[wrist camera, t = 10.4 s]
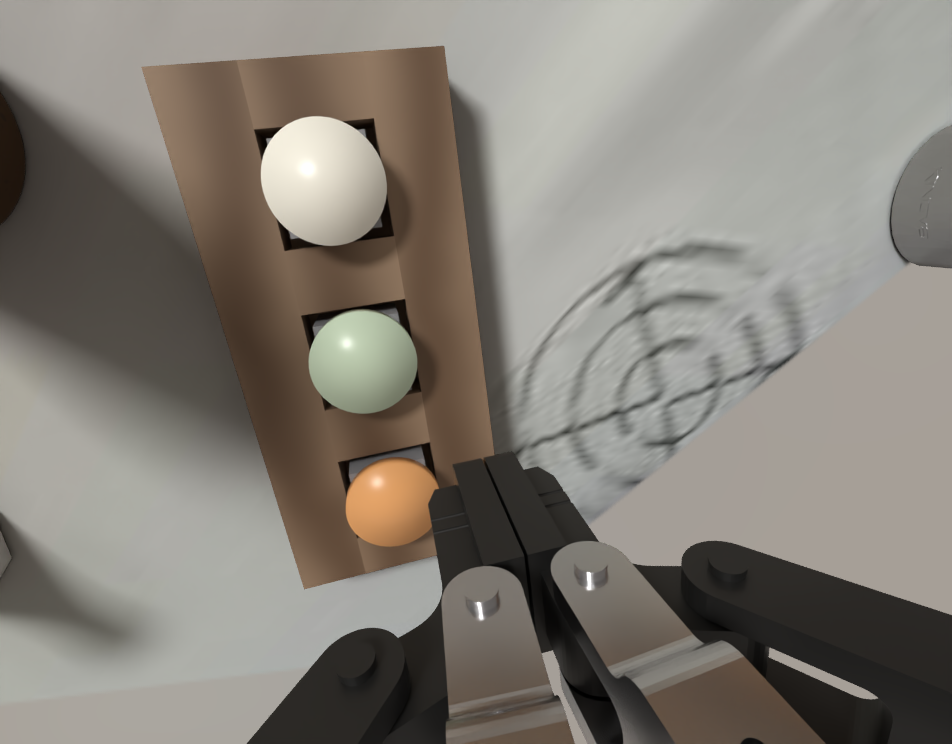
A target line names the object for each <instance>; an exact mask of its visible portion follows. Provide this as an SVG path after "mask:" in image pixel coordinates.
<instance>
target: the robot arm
mask: <svg viewBox="0 0 952 744" xmlns="http://www.w3.org/2000/svg"><path fill="white" fill-rule="evenodd" d="M891 225H892V235H893V238H894V241H895V244H896V247H897V248H898V250H899V251H900V253H901V255H902V256H903V257H905V258H906V259H907V260H908V261H909V262H911V263H914V264H916V265H919V266H931V267H943V268H952V125H951V126H949V127H946V128H944V129H943V130H941V131H940V132H938V133H937V134H935V135H933V136H932V137H931V138H930V139H929V140H928V141H927V142H926V143H925V144H924V145H923V146H922V147H921V148H920V149H919V150H918V152H917V153H916V154H915V155H914V157H913V158H912V159H911V161H910V163H909V164H908V166H907V168H906V170H905V171H904V173H903V175H902V177H901V180H900V182H899V185H898V187H897V190H896V193H895V197H894V201H893V205H892V217H891ZM452 472H453V478H454V484H455V485H453V486H449V487H444V488H440V489H435V490H434V492H433V494H432V496H431V499H430V501H429V503H428V508H429V513H430V519H431V524H432V530H433V535H434V541H435V547H436V552H437V558H438V563H439V569H440V575H441V580H442V588H443V590H442V596H441V599H440V602H439V604H438V606H437V608H436V609H435V611H434V612H433V613H432V615H431V616H430V617H429V618H428V619H427V620H426V621H424V622H423V623H422V624H421V625H419V626H418V627H416V628H415V629H413V630H411V631H410V632H408V633H406V634H404V635H403V636H401V637H399V638H397V637H396V636H395V635H394V634H393V633H391V632H389V631H387V630H384V629H380V628H365V629H360V630H357V631H354V632H351V633H349V634H347V635H345V636H343V637H341V638H340V639H338V640H337V641H335V642H334V643H333V644H332V645H331V646H329V647H328V648H327V649H326V650H325V652H324V653H323V654H322V655H321V656H320V657H319V658H318V660H317V661H316V662H315V663H314V664H313V666H312V667H311V668H310V669H309V670H308V672H307V673H306V674H305V675H304V676H303V678H302V679H301V680H300V681H299V682H298V683H297V685H296V686H295V687H294V688H293V689H292V691H291V692H290V693H289V694H288V695H287V696H286V698H285V699H284V700H283V701H282V702H281V704H280V705H279V706H278V707H277V708H276V710H275V711H274V712H273V713H272V714H271V715H270V717H269V718H268V719H267V720H266V721H265V723H264V724H263V725H262V726H261V727H260V729H259V730H258V731H257V732H256V733H255V734H254V736H253V737H252V738H251V739H250V740H249V742H248V743H247V744H575V743H574V739H573V736H572V733H571V729H570V726H569V723H568V719H567V716H566V713H565V710H564V707H563V705H562V702H561V700H560V698H559V696H558V695H556V696H554V693H553V691H552V688H551V684H550V681H549V678H548V674H547V671H546V667H545V664H544V660H543V657H542V653H544V652H548V651H551V650H553V652H554V654H555V656H556V659H557V661H558V663H559V668H560V679H561V686H562V690H563V693H564V695H565V697H566V699H567V701H568V704H569V706H570V708H571V710H572V712H573V714H574V716H575V718H576V720H577V722H578V725H579V727H580V729H581V731H582V733H583V735H584V737H585V739H586V741H587V743H588V744H952V615H949V614H946V613H943V612H940V611H937V610H934V609H931V608H928V607H925V606H922V605H918V604H916V603H913V602H910V601H907V600H904V599H901V598H897V597H894V596H891V595H888V594H886V593H882V592H879V591H876V590H873V589H870V588H867V587H864V586H861V585H858V584H855V583H852V582H849V581H846V580H843V579H840V578H837V577H834V576H831V575H828V574H825V573H822V572H819V571H816V570H813V569H810V568H807V567H803V566H800V565H797V564H794V563H791V562H788V561H785V560H782V559H779V558H776V557H773V556H770V555H767V554H764V553H761V552H757V551H755V550H752V549H749V548H746V547H742V546H739V545H736V544H733V543H728V542H722V541H706V542H701V543H698V544H695V545H693V546H691V547H690V548H688V549H687V550H686V551H685V553H684V554H683V557H682V566H642V565H637V564H632V563H631V562H630V561H629V559H628V558H627V557H626V556H625V555H624V554H623V553H622V552H620V551H619V550H618V549H616V548H614V547H612V546H610V545H607V544H605V543H601V542H599V541H598V540H597V538H596V537H595V535H594V534H593V532H592V531H591V529H590V528H589V526H588V525H587V524H586V522H585V521H584V519H583V518H582V516H581V515H580V513H579V512H578V510H577V509H576V508H575V506H574V505H573V503H571V502H570V499H569V497H568V496H567V494H566V493H565V492H563V489H562V487H561V486H560V484H559V483H558V481H557V480H556V478H555V477H554V476H553V475H551V474H550V473H548V472H546V471H545V470H543V469H541V468H539V467H534V468H530V469H525V470H523V468H522V466H521V465H520V463H519V461H518V459H517V458H516V456H515V454H514V453H513V452H512V451H511V452H507V453H502V454H497V455H493V456H488V457H483V460H482V459H481V458H479V459H475V460H470V461H465V462H461V463H456V464H452ZM769 647H770V648H773V649H775V650H777V651H779V652H782V653H784V654H786V655H789V656H791V657H793V658H795V659H798V660H800V661H802V662H805V663H807V664H809V665H812V666H814V667H816V668H818V669H821V670H823V671H825V672H827V673H830V674H832V675H834V676H837V677H839V678H841V679H843V680H846V681H848V682H850V683H853V684H855V685H857V686H859V687H862V688H864V689H866V690H868V691H870V692H871V693H873V694H874V695H875V696H877V697H878V699H872V700H870V699H862V698H859V697H856V696H853V695H851V694H849V693H846V692H844V691H842V690H840V689H837V688H835V687H833V686H831V685H828V684H826V683H824V682H822V681H820V680H818V679H815V678H813V677H811V676H809V675H806V674H804V673H802V672H800V671H798V670H795V669H793V668H791V667H789V666H786V665H784V664H782V663H780V662H778V661H775V660H773V659H771V658H769V657H768V656H769Z"/></svg>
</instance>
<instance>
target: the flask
mask: <svg viewBox="0 0 952 744" xmlns="http://www.w3.org/2000/svg"><path fill="white" fill-rule="evenodd" d="M11 558H12V557H11V555H10V553H9V550H8V548H7V545H6V543H5V540H4V538H3V536H2V533H1V531H0V578H1V576H2V574H3V572H4V571H5V569H6V567H7V565H8V564H9V562H10V560H11Z"/></svg>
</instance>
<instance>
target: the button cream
mask: <svg viewBox="0 0 952 744" xmlns="http://www.w3.org/2000/svg"><path fill="white" fill-rule="evenodd" d="M266 140H267V144H268V146H267V148H266V150H265V153H264V155H263V159H262V164H261V184H262V189H263V193H264V196H265V199H266V201H267V203H268V206H269V208H270V209H271V211H272V213H273V214H274V216H275V217H276V218H277V219H278V221H279V222H280V223H281V224H282V225H283V226H284V227H285V228H286V229H288V230H289V233H290V237H291V239H295V238H301V239H303V240H305V241H308V242H311V243H314V244H318V245H325V246H336V245H343V244H347V243H350V242H353V241H355V240H357V239H359V238H361V237H362V236H363V235H365V234H366V233H367V232H368V231H370V230H371V229H372V228H378V227H382V222H381V217H380V216H381V213H382V211H383V209H384V205H385V202H386V195H387V182H386V175H385V171H384V167H383V164H382V162H381V159H380V157H379V155H378V153H377V152H376V150H375V149H374V147H373V146H372V144H371V143H370V142H369V141H368V140H367V138H366V134H365V129H360V130H356V129H355V128H353V127H352V126H350V125H348V124H346V123H344V122H342V121H339V120H337V119H333V118H329V117H322V116H311V117H305V118H301V119H298V120H295V121H293V122H291V123H289V124H287V125H286V126H284V127H283V128H282V129H280V130H279V131H278V132H277V133H276V134H275V135H274V137H273V138H267V139H266Z"/></svg>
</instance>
